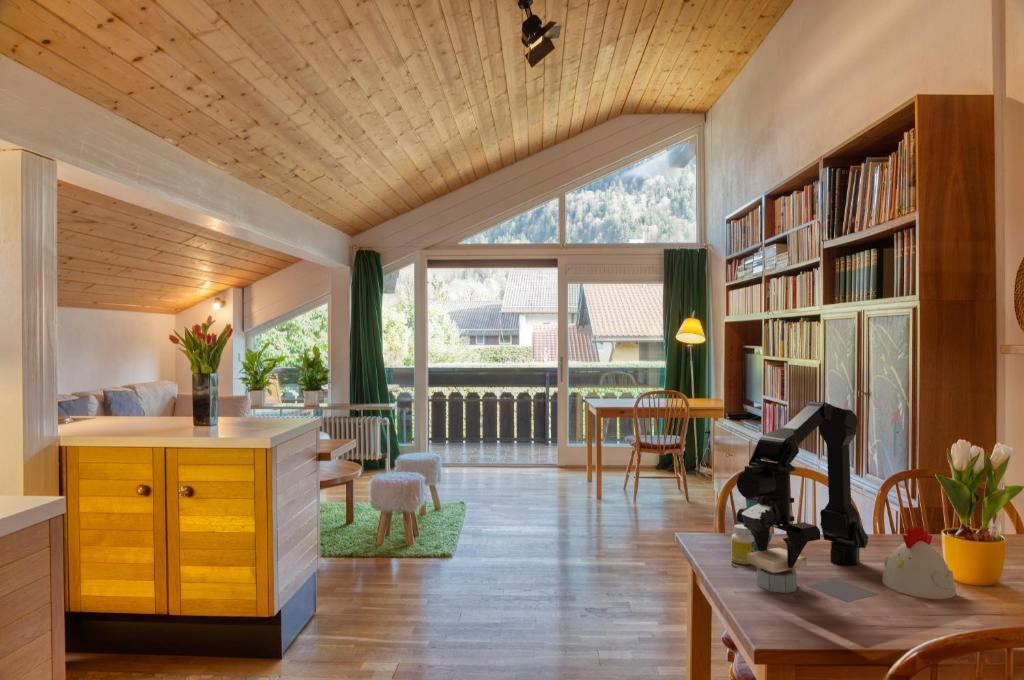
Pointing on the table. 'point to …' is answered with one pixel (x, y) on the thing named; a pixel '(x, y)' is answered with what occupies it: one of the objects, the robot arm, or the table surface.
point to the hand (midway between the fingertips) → (776, 562)
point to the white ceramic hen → (918, 568)
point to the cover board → (774, 560)
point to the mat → (842, 590)
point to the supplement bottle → (741, 546)
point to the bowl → (777, 580)
